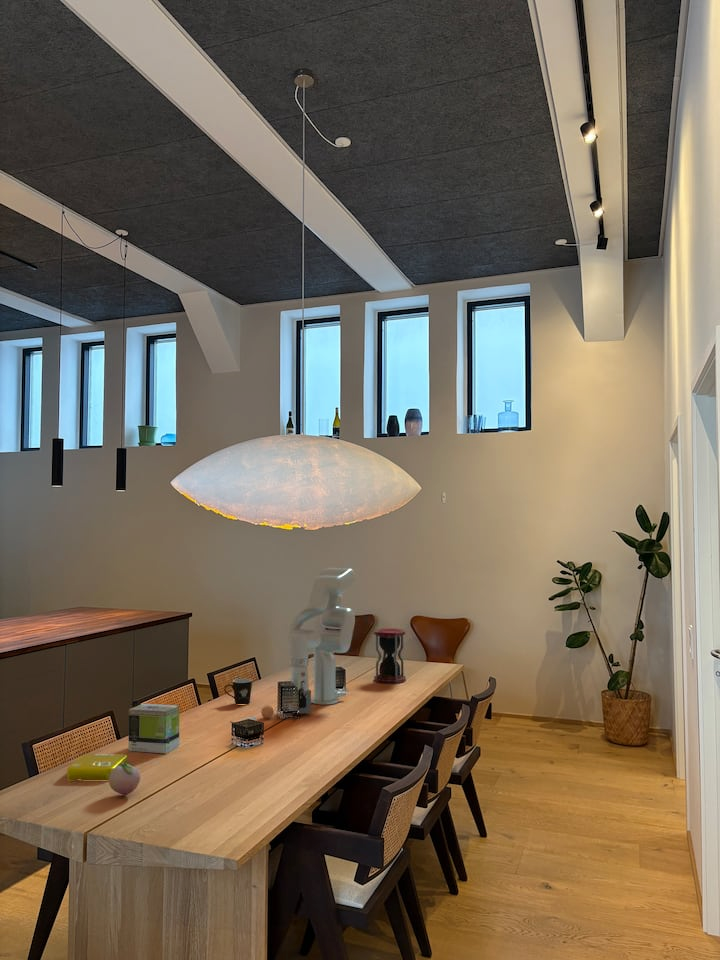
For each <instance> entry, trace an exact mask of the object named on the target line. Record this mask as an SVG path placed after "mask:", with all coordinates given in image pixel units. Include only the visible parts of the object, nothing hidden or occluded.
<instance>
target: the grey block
mask: <svg viewBox="0 0 720 960" xmlns="http://www.w3.org/2000/svg"><path fill="white" fill-rule="evenodd" d="M302 690H303V689H302ZM301 693H302V692H301ZM306 693H307V694H306V707H305V708H300V709H299V712H298V713H299V715H300V714H307V713H312V702H311V698H312V690H310V689H309V690H308V691H307V692H306Z"/></svg>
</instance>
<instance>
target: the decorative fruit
mask: <svg viewBox="0 0 720 960" xmlns="http://www.w3.org/2000/svg"><path fill="white" fill-rule="evenodd" d="M140 781H141V773H140V772H139V770H138V768H136V767H135V766H132V765H131V764H129V763H128V762H127V763H126V761H125V762H123V763H119V766H117V767H116V768H114V769H113V770H112V771H111V773H110V775H109V781H108V783H109V784H108V785H109V787H110V788H111V790H113V792H116V793H118V794H119V795H122V796H124V795H126V796H128V795H130V794H131V793H133V792H134V791H135V790H136V789H137V787H138V785H139V783H140Z"/></svg>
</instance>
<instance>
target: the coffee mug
mask: <svg viewBox="0 0 720 960" xmlns="http://www.w3.org/2000/svg"><path fill="white" fill-rule="evenodd" d="M252 686H253V679H250V678H236V679H233V680H232V684H231V683H230V684H227V685H224V687H223V689H224V693H226V695H228V696H229V697H231V698H233V699H234V704H235V703H236V704H248V703H251V696H252V695H251V694H252V689H253V688H252ZM227 687H231V688H232V689H233V695H232V694H230V693H229V692H227V689H226V688H227ZM236 704H235V705H236ZM248 705H249V704H248Z"/></svg>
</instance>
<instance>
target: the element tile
mask: <svg viewBox="0 0 720 960" xmlns="http://www.w3.org/2000/svg"><path fill="white" fill-rule="evenodd" d="M125 761H126V763H127V764H128V756H127V754H125V753H84V754H83V755H81V756H79V758H78V759H76V760H74V761H73V762H72V763H71V764H70V765H68V766H67V768H66V770H67V771H66V776H67V777H66V780H67V779H69V780H78V779H81V780H109V775H110V773H111V771H112V770H113V769H114V768H116V767H117V766H119V763H123V762H125Z"/></svg>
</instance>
